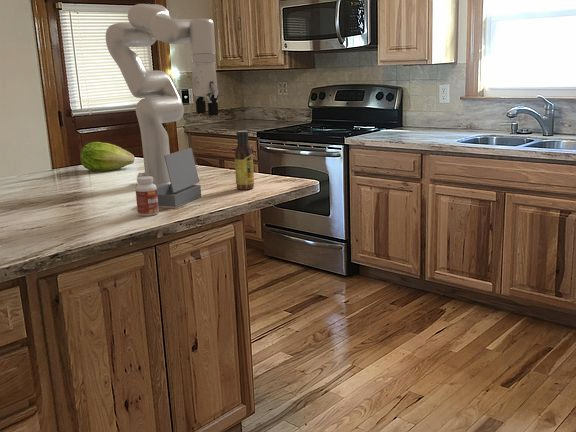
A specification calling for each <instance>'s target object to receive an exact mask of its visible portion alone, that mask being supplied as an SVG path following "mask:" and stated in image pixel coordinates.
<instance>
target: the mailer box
mask: <svg viewBox="0 0 576 432" xmlns="http://www.w3.org/2000/svg"><path fill="white" fill-rule="evenodd" d="M157 197H158V208H163V209H177V208H180V207H181V206H184V205H187V204H188V203H191V202H193V201H196V200H198V199H199V198H202V187H201V184H194V185H192V186H189V187H187V188H184V189H182V190H179V191H177V192H174V193H173V191H172V186H171V184H167V185H164V186H161V187H157Z"/></svg>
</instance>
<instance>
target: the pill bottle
mask: <svg viewBox="0 0 576 432" xmlns="http://www.w3.org/2000/svg"><path fill="white" fill-rule="evenodd" d="M136 182H137V185H136V186H135V198H136V199H135V200H136V209H137V215H139V216H140V217H150V216H151V217H152V216H155V215H158V214H159V211H160V210H159V209H160V207H158V197H157V188H158V187H156V185H155V184H153V177H152V176H143V177H138V178H137V177H136Z"/></svg>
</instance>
